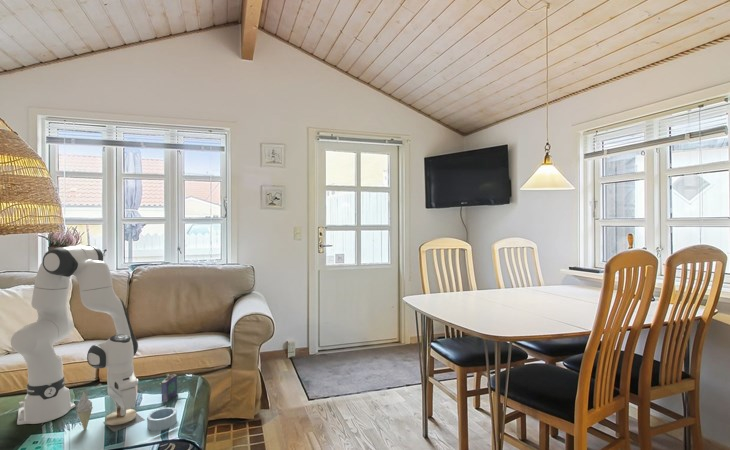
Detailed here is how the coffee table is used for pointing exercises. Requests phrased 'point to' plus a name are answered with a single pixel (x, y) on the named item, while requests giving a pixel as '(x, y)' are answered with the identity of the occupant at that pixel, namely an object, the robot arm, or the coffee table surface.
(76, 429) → the coffee table surface
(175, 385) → the flask
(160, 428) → the bowl
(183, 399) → the coffee table surface
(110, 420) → the lid
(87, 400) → the ice cream cone
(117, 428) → the mat
